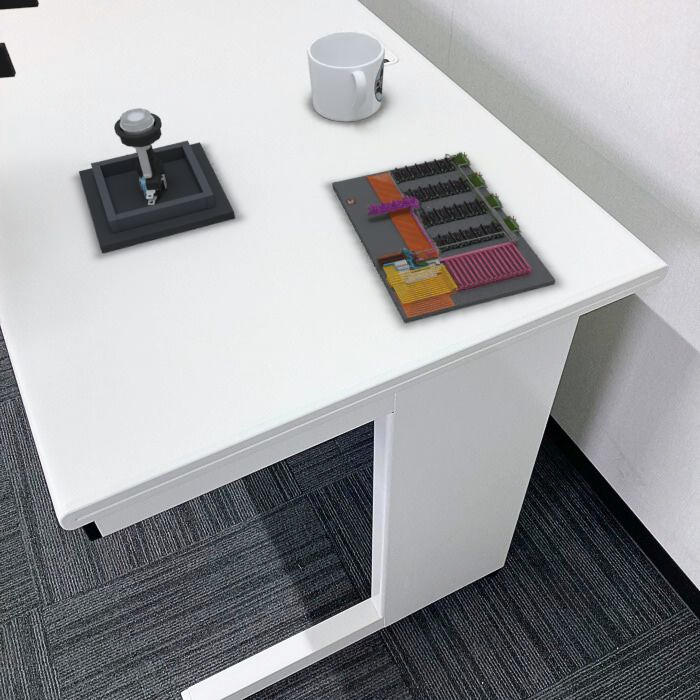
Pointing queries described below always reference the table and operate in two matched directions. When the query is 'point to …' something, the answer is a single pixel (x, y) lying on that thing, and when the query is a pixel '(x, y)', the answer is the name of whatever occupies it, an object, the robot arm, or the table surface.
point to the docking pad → (168, 212)
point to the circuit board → (439, 237)
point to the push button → (143, 148)
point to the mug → (346, 75)
